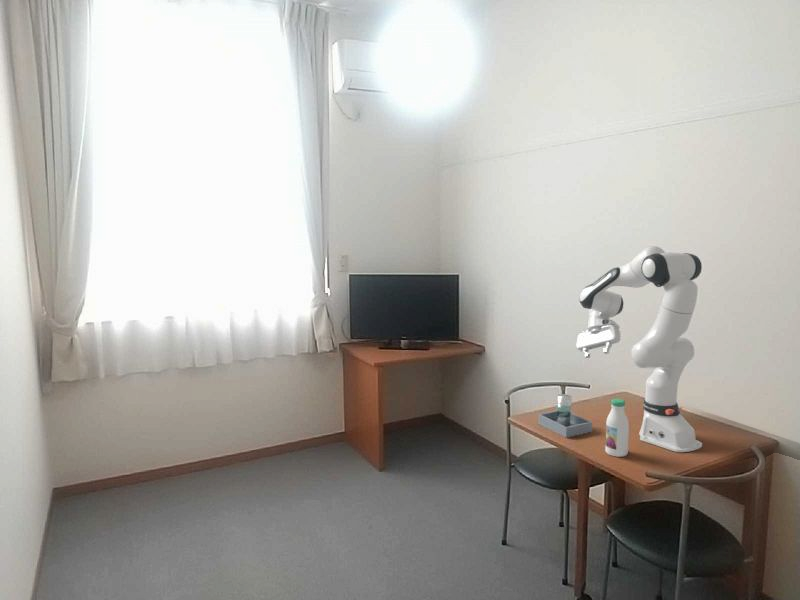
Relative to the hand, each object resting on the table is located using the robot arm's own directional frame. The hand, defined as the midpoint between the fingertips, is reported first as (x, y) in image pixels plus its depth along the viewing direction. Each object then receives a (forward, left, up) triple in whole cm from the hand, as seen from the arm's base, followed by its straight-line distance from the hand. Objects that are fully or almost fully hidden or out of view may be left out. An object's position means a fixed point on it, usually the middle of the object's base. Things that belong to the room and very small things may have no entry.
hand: (596, 355), depth 239 cm
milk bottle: (-34, +22, -27) cm, 49 cm away
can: (-4, +21, -26) cm, 33 cm away
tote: (-6, +22, -26) cm, 35 cm away
